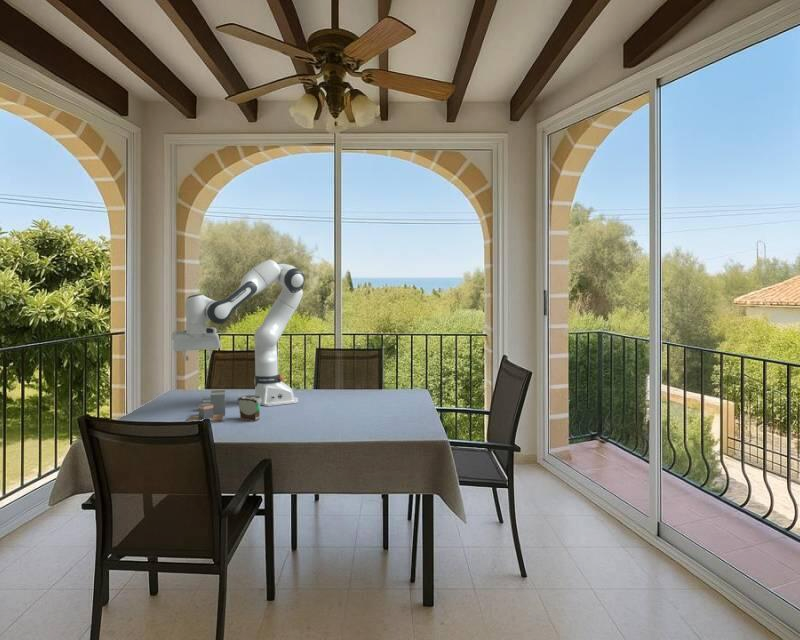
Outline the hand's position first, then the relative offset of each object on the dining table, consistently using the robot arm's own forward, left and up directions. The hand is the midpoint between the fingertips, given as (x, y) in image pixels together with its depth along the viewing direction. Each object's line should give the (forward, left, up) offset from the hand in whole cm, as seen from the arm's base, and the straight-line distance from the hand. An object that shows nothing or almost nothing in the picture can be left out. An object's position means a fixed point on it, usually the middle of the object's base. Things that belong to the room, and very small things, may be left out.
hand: (197, 359), depth 246 cm
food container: (-23, +16, -26) cm, 38 cm away
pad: (-3, +13, -25) cm, 29 cm away
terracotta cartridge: (-4, +13, -24) cm, 28 cm away
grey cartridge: (-3, -7, -25) cm, 27 cm away
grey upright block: (-8, +4, -25) cm, 27 cm away
